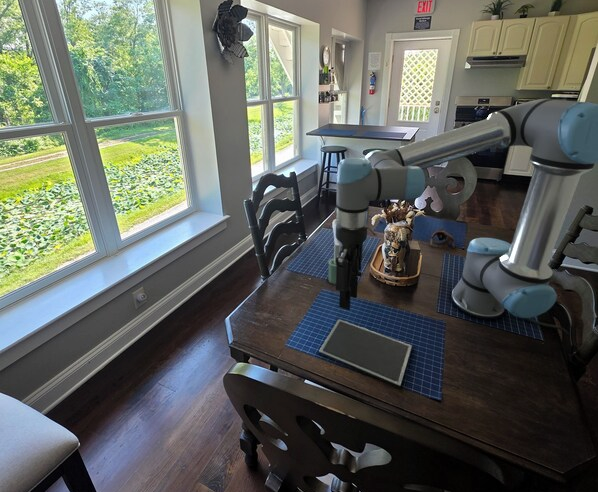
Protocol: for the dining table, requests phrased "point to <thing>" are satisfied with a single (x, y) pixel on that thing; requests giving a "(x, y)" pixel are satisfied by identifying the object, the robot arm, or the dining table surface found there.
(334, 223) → the foam cup
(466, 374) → the dining table surface
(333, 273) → the pen pot
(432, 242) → the pottery mug
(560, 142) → the robot arm
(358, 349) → the tablet
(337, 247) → the stylus
